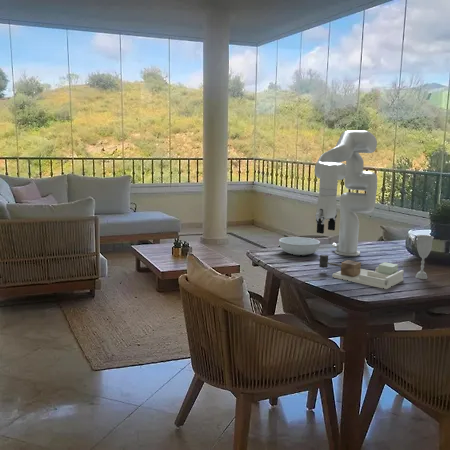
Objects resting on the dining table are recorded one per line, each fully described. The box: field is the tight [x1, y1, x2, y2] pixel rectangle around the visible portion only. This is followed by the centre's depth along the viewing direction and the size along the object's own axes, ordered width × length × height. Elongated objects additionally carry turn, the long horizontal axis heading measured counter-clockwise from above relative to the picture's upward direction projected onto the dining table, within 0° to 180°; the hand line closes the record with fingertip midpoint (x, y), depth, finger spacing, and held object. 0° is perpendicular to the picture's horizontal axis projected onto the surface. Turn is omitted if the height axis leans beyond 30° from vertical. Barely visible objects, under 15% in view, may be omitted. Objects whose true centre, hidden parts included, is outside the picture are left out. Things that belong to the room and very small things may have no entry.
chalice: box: [415, 234, 435, 280], centre depth 214 cm, size 7×7×18 cm
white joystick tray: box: [332, 261, 405, 290], centre depth 211 cm, size 24×17×7 cm
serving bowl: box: [278, 236, 321, 256], centre depth 255 cm, size 21×21×7 cm
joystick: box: [318, 254, 362, 277], centre depth 216 cm, size 18×6×6 cm, turn 50°
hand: (325, 231), depth 218 cm, fingers open, 9 cm apart
